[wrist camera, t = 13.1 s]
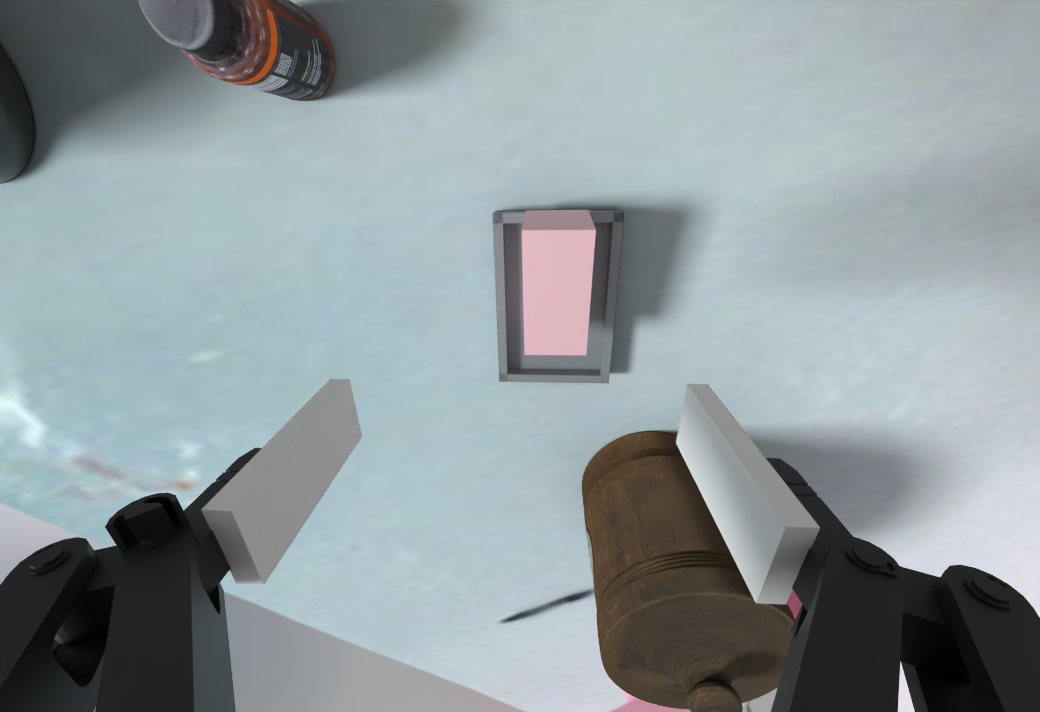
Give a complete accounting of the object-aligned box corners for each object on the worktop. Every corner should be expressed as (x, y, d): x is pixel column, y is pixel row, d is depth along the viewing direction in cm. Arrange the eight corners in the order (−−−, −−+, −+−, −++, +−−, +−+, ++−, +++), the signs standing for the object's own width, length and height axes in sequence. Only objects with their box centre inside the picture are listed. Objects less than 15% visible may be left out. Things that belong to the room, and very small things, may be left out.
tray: (501, 372, 41) (499, 381, 39) (495, 211, 34) (492, 213, 32) (605, 373, 40) (608, 383, 38) (620, 209, 33) (624, 211, 32)
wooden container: (558, 500, 48) (567, 736, 28) (628, 408, 42) (703, 625, 22) (660, 546, 50) (738, 795, 30) (741, 465, 44) (904, 709, 24)
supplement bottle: (254, 2, 29) (95, -90, 19) (334, 13, 29) (219, -74, 19) (266, 98, 32) (132, 62, 21) (340, 108, 32) (241, 76, 21)
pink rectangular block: (527, 320, 37) (524, 354, 32) (525, 210, 32) (521, 230, 27) (580, 321, 37) (586, 355, 32) (588, 209, 32) (595, 229, 27)
